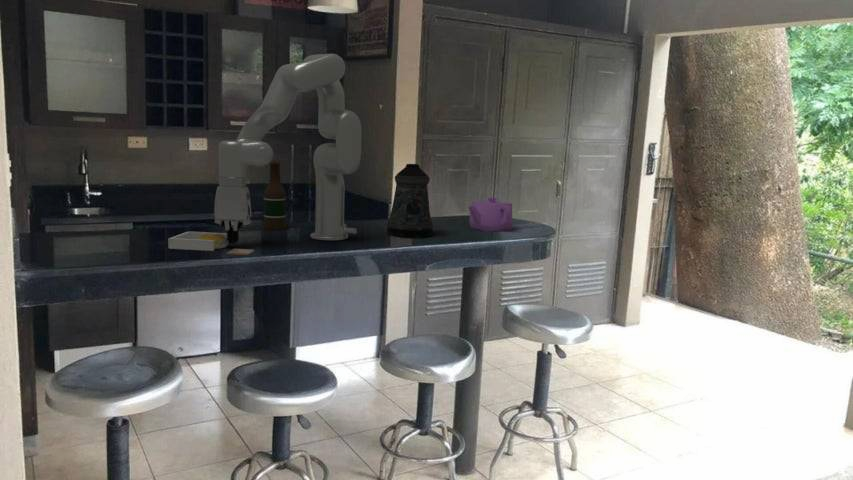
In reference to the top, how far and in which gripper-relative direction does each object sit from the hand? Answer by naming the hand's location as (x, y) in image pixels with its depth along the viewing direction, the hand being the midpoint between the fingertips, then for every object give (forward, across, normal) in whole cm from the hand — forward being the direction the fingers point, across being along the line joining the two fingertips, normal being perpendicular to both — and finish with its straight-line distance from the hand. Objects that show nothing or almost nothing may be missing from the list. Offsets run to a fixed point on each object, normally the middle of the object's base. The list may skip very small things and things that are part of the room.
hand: (232, 243), depth 212 cm
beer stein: (+2, -50, -42) cm, 65 cm away
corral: (+1, +10, 0) cm, 10 cm away
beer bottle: (+2, -2, -40) cm, 40 cm away
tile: (+1, -5, +8) cm, 9 cm away
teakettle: (+2, -79, -66) cm, 103 cm away
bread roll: (+2, +6, +1) cm, 6 cm away
